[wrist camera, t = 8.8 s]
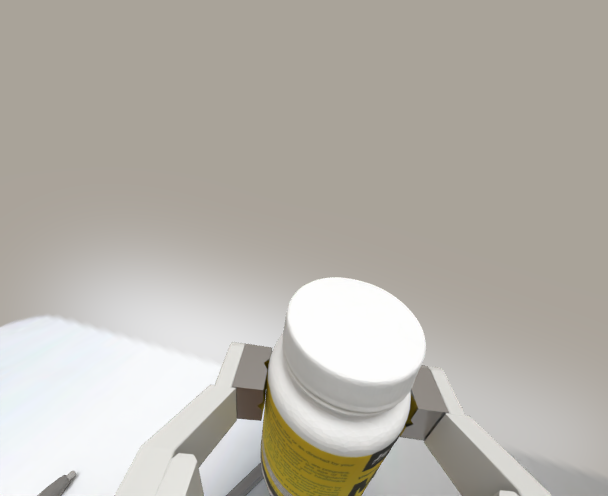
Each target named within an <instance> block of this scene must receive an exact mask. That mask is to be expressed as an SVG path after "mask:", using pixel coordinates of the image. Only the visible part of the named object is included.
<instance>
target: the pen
mask: <svg viewBox="0 0 608 496" xmlns="http://www.w3.org/2000/svg"><path fill="white" fill-rule="evenodd" d="M75 475H76V473H75V471H71V472H70V473H69V474H68V475H67V476H66V475H64V476H62V477H60V478H59V479H57V480H56V481H55V482H53V483H52V484H51V485H49V486H48V487H47V488H46V489H44V490H43V491H42V492H41V493H40V494H39V495H37V496H60V495H61V494H62V493H63V491H64V490H65V488H66V487H67V486H68V485H69V483H70V480H71V479H72V478H73V477H74V476H75Z"/></svg>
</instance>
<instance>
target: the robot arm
mask: <svg viewBox="0 0 608 496" xmlns="http://www.w3.org/2000/svg"><path fill="white" fill-rule="evenodd" d="M271 354H272V348H271V347H264V346H257V345H250V344H243V343H236V342H232V343H231V345H230V346H229V349H228V352H227V354H226V357H225V359H224V362H223V364H222V367H221V370H220V372H219V375H218V378H217V380H216V383H215V385H210V386H208V387H207V388H206V389H205V390H204V391H203V392H202V393H201V394H199V395H198V396H197V397H196V398H195V399H194V400H193V401H191V402H190V403H189V404H188V405H187V406H186V407H185V408H184V409H182V410H181V411H180V412H179V413H178V414H177V415H176V416H175V417H173V418H172V419H171V420H170V421H169V422H168V423H167V424H166V425H164V426H163V427H162V428H161V429H160V430H159V431H158V432H157V433H155V434H154V435H153V436H152V437H151V438H150V439H149V440H147V441H146V442H145V443H144V444H143V445H142V446H141V447H140V449H139V451H138V452H137V454H136V456H135V458H134V460H133V462H132V464H131V466H130V467H129V469H128V471H127V473H126V475H125V477H124V479H123V481H122V482H121V484H120V486H119V488H118V490H117V492H116V494H115V495H114V496H204V493H203V488H202V483H201V478H200V473H199V467H200V465H201V464H202V463H203V462H204V460H205V459H206V458H207V457H208V455H209V454H210V453H211V452H212V450H213V449H214V448H215V447H216V445H217V444H218V443H219V442H220V440H221V439H222V438H223V437H224V435H225V434H226V433H227V432H228V430H229V429H230V428H231V427H232V426H233V424H234V423H235V422H236V421H237V419H248V420H260V421H261V419H262V414H263V408H264V403H265V395H266V388H267V374H268V365H269V360H270V356H271ZM410 391H411V403H410V411H409V414H408V418H407V421H406V423H405V425H404V428H403V430H402V431H401V433H400V437H403V438H409V439H416V440H423V441H424V443H425V444H426V446H427V447H428V449H429V450H430V451H431V453H432V454H433V456H434V457H435V458H436V460H437V461H438V463H439V464H440V466H441V467H442V468H443V470H444V471H445V473H446V474H447V475H448V477H449V478H450V480H451V481H452V482H453V484H454V485H455V487H456V488H457V489H458V491H459V492H460V494H461V495H462V496H552V495H551V494H550V493H549V492H548V491H547V490H546V489H545V488H544V487H543V486H542V485H541V484H540V483H539V482H538V481H537V480H536V479H535V478H534V477H533V476H532V475H530V474H529V473H528V472H527V471H526V470H525V469H524V468H523V467H522V466H521V465H520V464H519V463H518V462H517V461H516V460H515V459H514V458H513V457H512V456H511V455H510V454H509V453H508V452H507V451H506V450H505V449H504V448H503V447H501V446H500V445H499V444H498V443H497V442H496V441H495V440H494V439H493V438H492V437H491V436H490V435H489V434H488V433H487V432H486V431H485V430H484V429H483V428H482V427H481V426H480V425H479V424H478V423H477V422H475V421H474V420H473V419H472V418H471V417H470V416H466V415H465V413H464V411H463V409H462V407H461V405H460V403H459V401H458V399H457V397H456V395H455V393H454V391H453V389H452V387H451V385H450V383H449V381H448V379H447V377H446V375H445V373H444V371H443V370H442V369H441V368H437V367H428V366H423V365H421V367H420V369H419V371H418V374H417V376H416V378H415V381H414V384H413V387H412V389H411V390H410Z"/></svg>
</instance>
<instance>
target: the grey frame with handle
mask: <svg viewBox="0 0 608 496" xmlns="http://www.w3.org/2000/svg"><path fill="white" fill-rule="evenodd" d="M263 478H264V476H263V472H262V467H261V463H260V464H259V465H258V466H257V467H256V468H254V469H253V470H252V471H251V472H250V473H249V474H248V475H247V476H246V477H245V478H244V479H243V480H242V481H241V482H240V483H239V484H238V485H237V486H236V487H235V488H234V489H233V490H231V491H230V492H229V493H228V494H227V495H226V496H246V495H247V494H248V493H249V492H250V491H251V490H252V489H253V488H254V487H255V486H256V485H257V484H258V483H259V482H260V481H261V480H262V479H263Z"/></svg>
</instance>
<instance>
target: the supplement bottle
mask: <svg viewBox="0 0 608 496" xmlns="http://www.w3.org/2000/svg"><path fill="white" fill-rule="evenodd" d="M425 352H426V343H425V337H424V333H423V330H422V328H421V325H420V324H419V322H418V320H417V319H416V317H415V316H414V315H413V314H412V312H411V311H410V310H409V309H408V308H407V307H406V306H405V305H404V304H403V303H402V302H400V301H399V300H398V299H397V298H395V297H394V296H393V295H391V294H390V293H388V292H386V291H385V290H383V289H381V288H379V287H377V286H374V285H372V284H369V283H366V282H362V281H358V280H354V279H349V278H335V277H334V278H324V279H319V280H315V281H313V282H310V283H308V284H306V285H305V286H303V287H301V288H300V289H299V290H298V291H297V292H296V293H295V294H294V296H293V297H292V299H291V300H290V302H289V305H288V309H287V313H286V320H285V326H284V331H283V334H282V335H281V336H280V338H279V339H278V341H277V343H276V344H275V347H274V349H273V351H272V354H271V356H270V360H269V365H268V374H267V388H266V400H265V411H264V420H263V430H262V440H261V467H262V472H263V476H264V480H265V483H266V486H267V488H268V490H269V492H270V494H271V496H361V495H362V494H363V492H364V490H365V489H366V487H367V485H368V484H369V482H370V481H371V479H372V478H373V477H374V475H375V473H376V471H377V470H378V468H379V467H380V465H381V463H382V462H383V460H384V459H385V457H386V456H387V455H388V453H389V451H390V450H391V448H392V446H393V445H394V443H395V442H396V441H397V439H398V438H399V436H400V433H401V431H402V430H403V428H404V425H405V423H406V421H407V418H408V414H409V411H410V403H411V391H410V390H411V389H412V387H413V384H414V381H415V378H416V376H417V374H418V371H419V369H420V367H421V365H422V363H423V360H424V357H425Z"/></svg>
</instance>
